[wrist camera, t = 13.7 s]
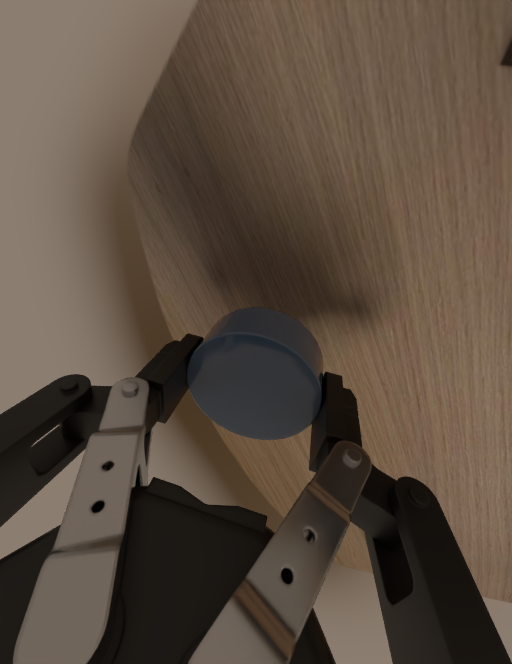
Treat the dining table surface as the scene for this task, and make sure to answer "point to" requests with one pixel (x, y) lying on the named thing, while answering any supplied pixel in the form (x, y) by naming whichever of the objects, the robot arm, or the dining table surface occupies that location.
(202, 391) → the cylinder
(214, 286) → the dining table surface
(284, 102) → the dining table surface
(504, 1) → the dining table surface
